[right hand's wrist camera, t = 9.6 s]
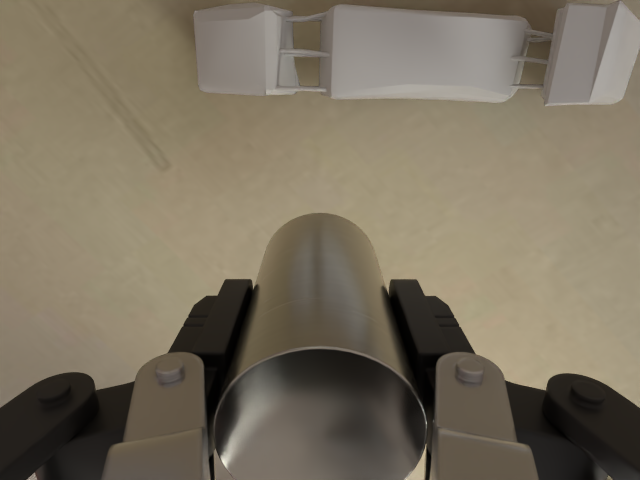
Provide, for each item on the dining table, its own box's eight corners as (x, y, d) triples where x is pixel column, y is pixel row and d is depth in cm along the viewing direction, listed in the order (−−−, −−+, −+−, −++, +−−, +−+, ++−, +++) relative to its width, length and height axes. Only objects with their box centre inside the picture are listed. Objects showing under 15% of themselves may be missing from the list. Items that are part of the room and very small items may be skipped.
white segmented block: (624, 22, 20) (746, -5, 14) (603, 104, 21) (704, 114, 15) (218, 14, 22) (157, -13, 15) (222, 91, 23) (168, 96, 17)
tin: (248, 293, 15) (186, 480, 8) (287, 194, 14) (253, 315, 7) (348, 329, 16) (372, 533, 9) (395, 237, 14) (468, 391, 7)
